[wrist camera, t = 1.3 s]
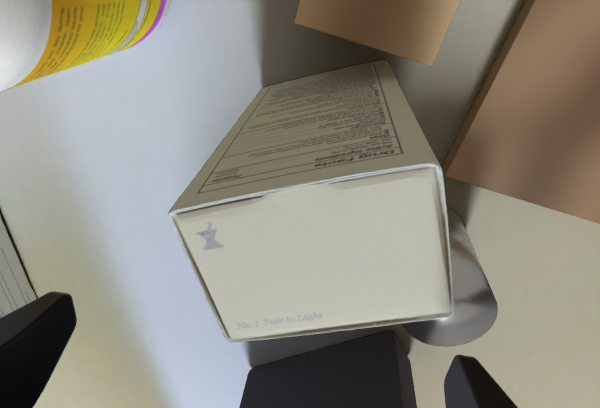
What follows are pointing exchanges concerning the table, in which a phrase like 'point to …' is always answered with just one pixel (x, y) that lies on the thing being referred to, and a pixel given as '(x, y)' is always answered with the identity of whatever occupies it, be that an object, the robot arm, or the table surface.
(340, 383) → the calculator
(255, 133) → the skincare box
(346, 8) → the oak block
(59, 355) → the robot arm
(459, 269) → the metal canister
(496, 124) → the walnut board
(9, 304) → the hard drive box
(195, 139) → the table surface
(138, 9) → the supplement bottle
